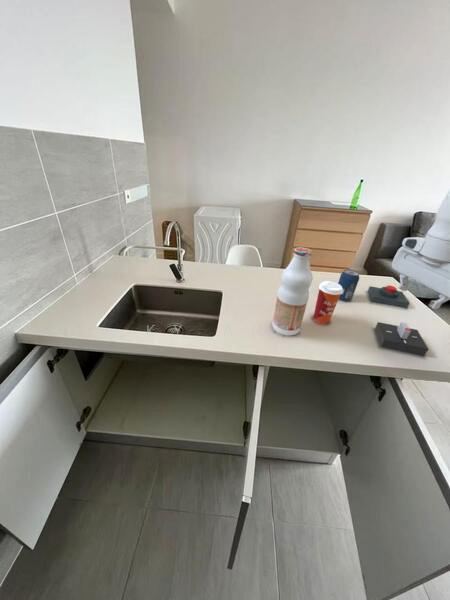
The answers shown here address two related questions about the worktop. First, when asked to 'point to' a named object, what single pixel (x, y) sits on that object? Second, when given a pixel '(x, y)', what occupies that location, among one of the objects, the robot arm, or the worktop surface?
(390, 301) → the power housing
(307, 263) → the fruit juice
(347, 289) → the soda can
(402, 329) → the timer knob
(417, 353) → the timer panel
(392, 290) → the power button
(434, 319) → the worktop surface
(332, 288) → the paper cup
